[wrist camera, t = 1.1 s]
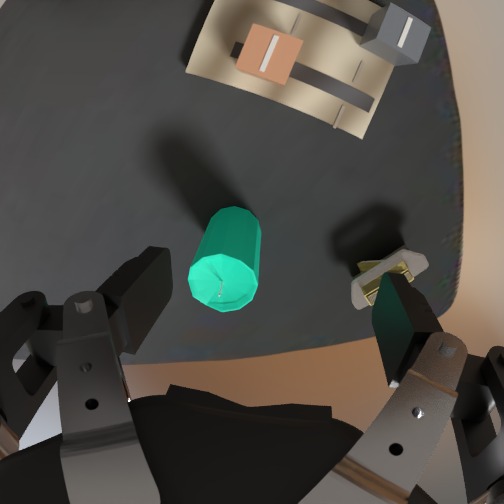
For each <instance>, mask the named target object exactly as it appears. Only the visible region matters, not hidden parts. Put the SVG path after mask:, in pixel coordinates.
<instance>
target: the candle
mask: <svg viewBox="0 0 504 504" xmlns="http://www.w3.org/2000/svg"><path fill="white" fill-rule="evenodd" d="M260 241H261V230H260V226H259V222H258V219H257V218H256V217H255V216H254V215H253V214H252V213H251V212H250V211H249V210H246V209H243V208H240V207H236V206H232V207H227V208H222V209H220V210H219V211H218V212H217V213H216V214H215V215H214V216H212V217H211V220H210V222H209V224H208V227H207V229H206V231H205V234H204V236H203V238H202V241H201V243H200V246H199V248H198V250H197V253H196V255H195V258H194V260H193V262H192V265H191V267H190V272H189V277H188V282H189V285H190V288H191V292H192V295H193V297H195V298H196V299H198V300H199V301H201V302H202V303H204V304H205V305H207V306H209V307H212V308H214V309H216V310H219V311H221V312H226V311H232V310H238V309H240V308H242V307H243V306H245V305H246V304H247V303H249V302H250V301H252V299H253V297H254V294H255V292H256V289H257V286H258V275H259V258H260Z"/></svg>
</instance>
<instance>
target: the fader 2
mask: <svg viewBox="0 0 504 504" xmlns="http://www.w3.org/2000/svg"><path fill="white" fill-rule="evenodd" d="M430 30H431V27H430V26H428V25H427V24H425V23H424V22H422V21H421V20H419V19H418V18H416V17H414V16H413V15H411V14H410V13H408V12H406V11H405V10H403V9H401V8H400V7H398V6H396V5H395V4H393V3H389V4H387V5H386V6H384V7H383V8H381V9H380V10H378V11H377V12H375V13H374V14H372V16H371V18H370V21H369V23H368V26H367V28H366V30H365V33H364V35H363V37H362V40H361V42H360V45H359V46H360V47H362V48H364V49H366V50H367V51H369V52H371V53H373V54H375V55H377V56H379V57H380V58H382V59H384V60H386V61H387V62H389V63H391V64H393V65H394V66H399V65H406V64H414V63H418V61H419V59H420V56H421V54H422V51H423V48H424V46H425V43H426V40H427V38H428V35H429V32H430Z"/></svg>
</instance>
